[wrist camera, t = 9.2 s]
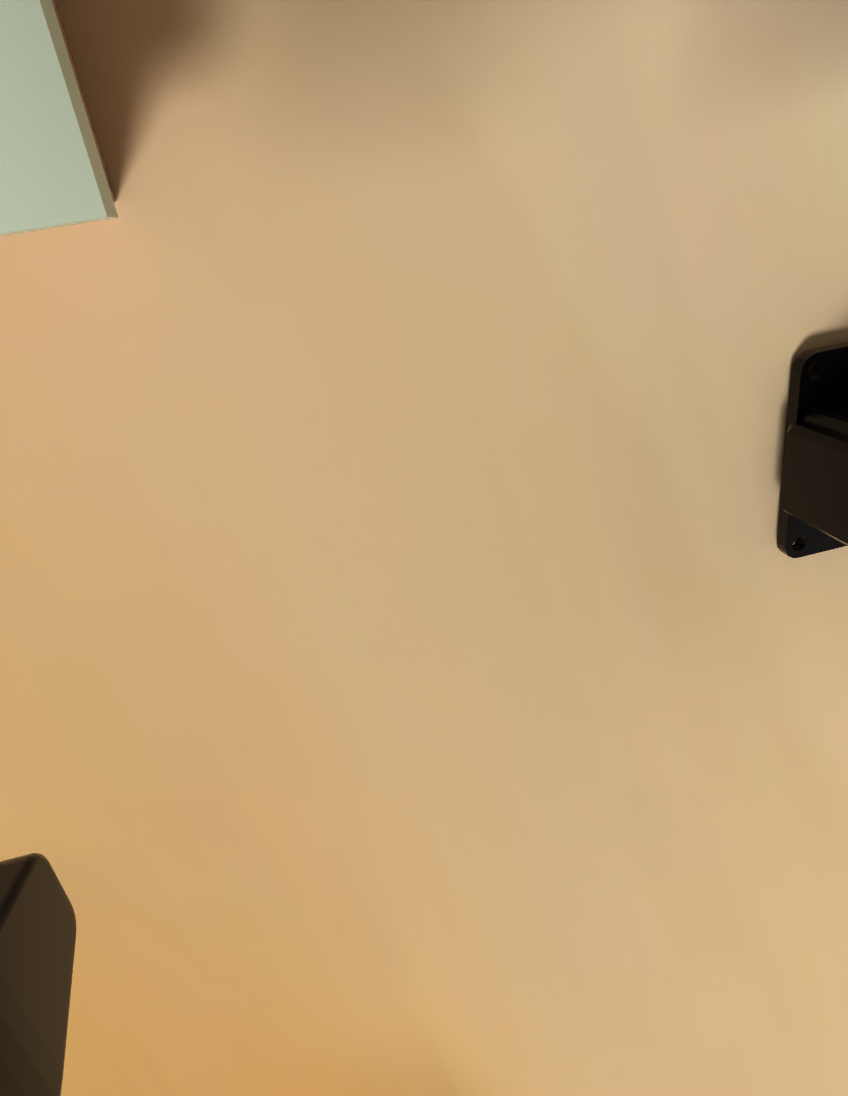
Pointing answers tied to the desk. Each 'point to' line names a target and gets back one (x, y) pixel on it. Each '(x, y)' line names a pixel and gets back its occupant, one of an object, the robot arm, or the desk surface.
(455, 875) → the desk surface
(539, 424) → the desk surface
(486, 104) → the desk surface
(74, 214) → the lid
